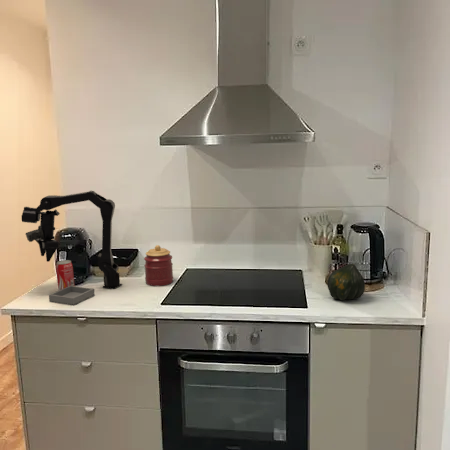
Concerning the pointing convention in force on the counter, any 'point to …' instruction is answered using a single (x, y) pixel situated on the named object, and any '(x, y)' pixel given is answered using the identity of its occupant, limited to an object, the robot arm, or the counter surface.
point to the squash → (346, 283)
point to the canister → (158, 267)
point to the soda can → (64, 274)
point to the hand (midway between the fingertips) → (45, 258)
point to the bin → (71, 295)
